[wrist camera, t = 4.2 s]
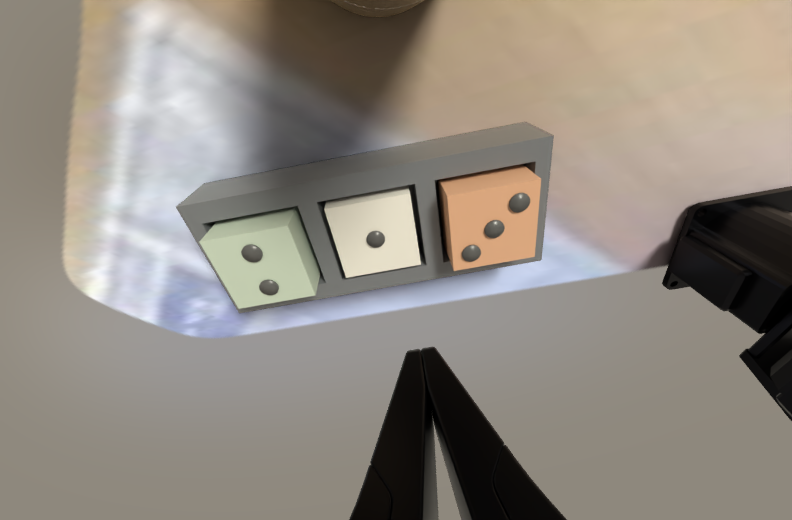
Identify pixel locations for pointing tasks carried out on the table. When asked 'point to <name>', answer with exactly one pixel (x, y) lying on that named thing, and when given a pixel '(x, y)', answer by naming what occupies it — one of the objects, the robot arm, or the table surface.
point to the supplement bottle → (377, 6)
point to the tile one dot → (374, 231)
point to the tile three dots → (490, 216)
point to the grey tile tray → (370, 174)
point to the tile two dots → (263, 257)
